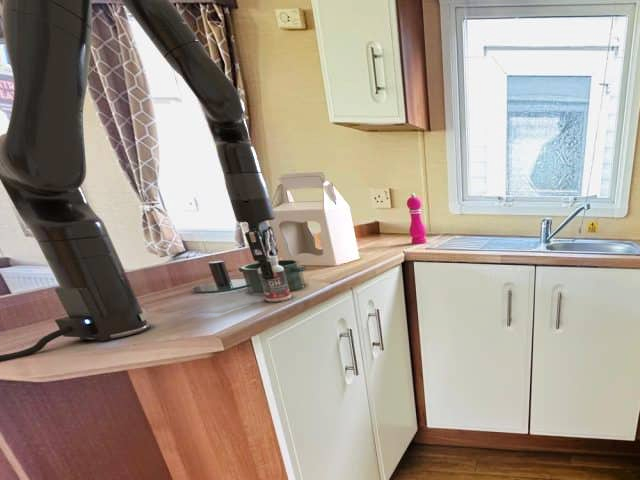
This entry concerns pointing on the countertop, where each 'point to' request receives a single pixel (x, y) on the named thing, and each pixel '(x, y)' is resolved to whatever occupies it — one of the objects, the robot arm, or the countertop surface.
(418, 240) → the pepper mill
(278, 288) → the pill bottle
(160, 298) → the countertop surface
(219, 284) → the pot lid
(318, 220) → the gable box
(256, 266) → the pot
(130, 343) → the countertop surface
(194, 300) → the countertop surface
